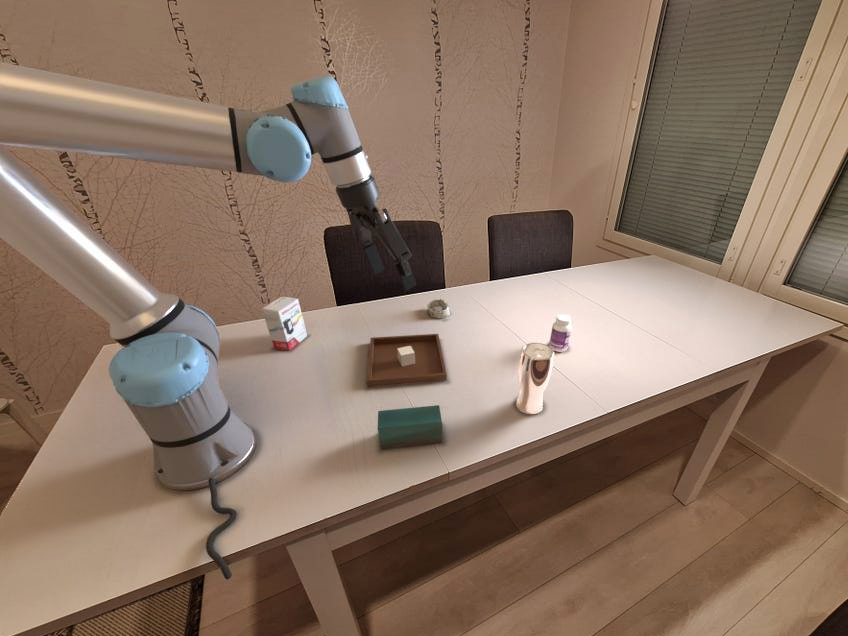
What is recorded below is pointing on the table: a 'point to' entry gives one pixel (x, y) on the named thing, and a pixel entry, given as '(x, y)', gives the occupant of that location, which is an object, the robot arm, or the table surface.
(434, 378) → the tray
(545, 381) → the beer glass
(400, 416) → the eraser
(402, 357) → the cream white cube
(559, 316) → the pill bottle
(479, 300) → the table surface
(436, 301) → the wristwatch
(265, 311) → the ink box
